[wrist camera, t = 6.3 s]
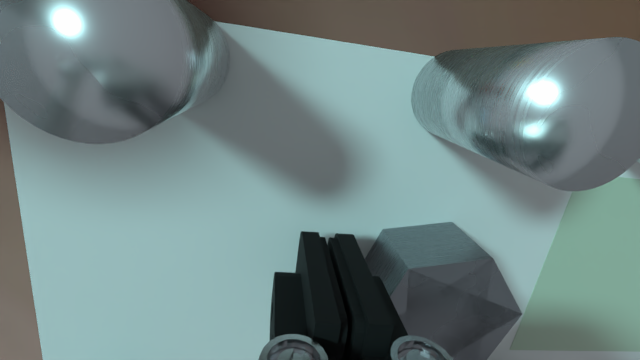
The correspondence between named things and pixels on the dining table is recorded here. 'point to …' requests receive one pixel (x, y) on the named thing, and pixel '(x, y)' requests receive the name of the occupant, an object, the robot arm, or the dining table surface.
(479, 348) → the grey faceted hexagonal block
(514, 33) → the dining table surface
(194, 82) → the spacers
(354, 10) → the dining table surface
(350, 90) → the board
